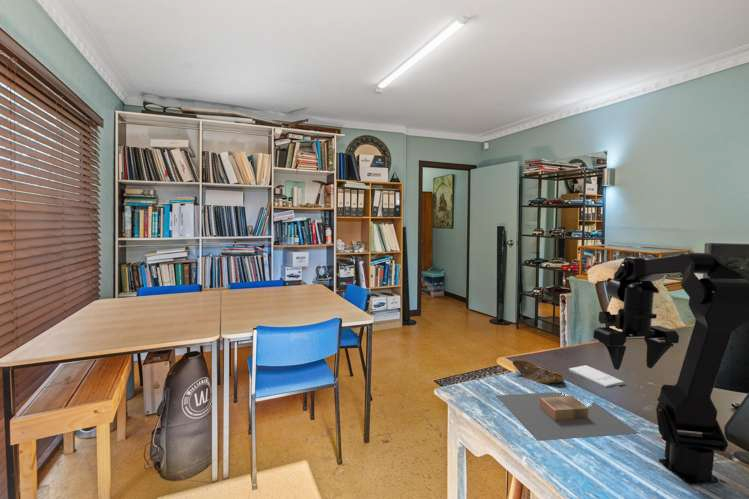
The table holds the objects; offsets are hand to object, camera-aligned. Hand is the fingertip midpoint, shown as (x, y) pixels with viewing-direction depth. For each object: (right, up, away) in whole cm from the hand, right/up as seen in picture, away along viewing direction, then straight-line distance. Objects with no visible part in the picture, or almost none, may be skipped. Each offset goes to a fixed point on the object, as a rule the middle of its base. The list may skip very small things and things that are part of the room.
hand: (632, 368), depth 89 cm
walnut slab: (-13, -10, +1) cm, 16 cm away
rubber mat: (-18, -12, +1) cm, 21 cm away
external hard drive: (+4, -11, +22) cm, 25 cm away
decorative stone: (-14, -10, +22) cm, 28 cm away
